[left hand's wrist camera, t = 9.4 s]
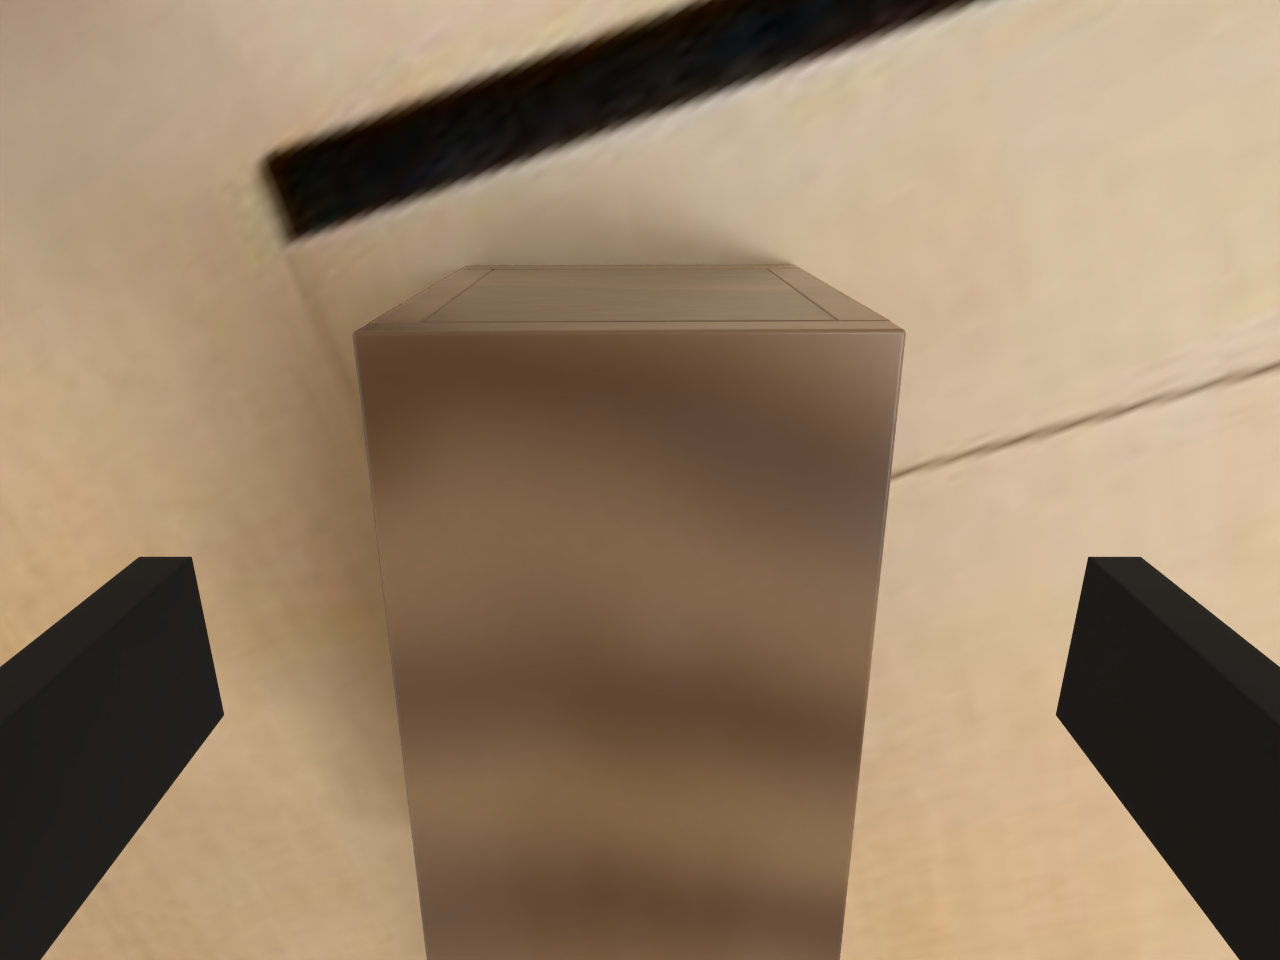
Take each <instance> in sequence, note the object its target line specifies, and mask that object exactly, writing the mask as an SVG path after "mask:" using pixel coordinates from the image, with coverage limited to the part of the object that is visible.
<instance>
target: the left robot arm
mask: <svg viewBox="0 0 1280 960" xmlns="http://www.w3.org/2000/svg"><path fill="white" fill-rule="evenodd" d="M223 716H224V712H223V707H222V702H221V697H220V692H219V688H218V683H217V678H216V673H215V668H214V663H213V658H212V653H211V649H210V644H209V639H208V634H207V629H206V624H205V619H204V615H203V610H202V605H201V600H200V595H199V590H198V585H197V580H196V576H195V571H194V566H193V561H192V557H139V558H137V559H136V560H135V561H134V562H132V563H131V564H130V565H129V566H127V567H126V568H125V569H123V570H122V571H121V572H120V573H118V574H117V575H116V576H115V577H113V578H112V579H111V580H110V581H108V582H107V583H106V584H105V585H103V586H102V587H101V588H99V589H98V590H97V591H96V592H94V593H93V594H92V595H91V596H89V597H88V598H87V599H86V600H84V601H83V602H82V603H81V604H79V605H78V606H77V607H75V608H74V609H73V610H72V611H70V612H69V613H68V614H67V615H65V616H64V617H63V618H62V619H60V620H59V621H58V622H57V623H55V624H54V625H53V626H51V627H50V628H49V629H48V630H46V631H45V632H44V633H43V634H41V635H40V636H39V637H38V638H36V639H35V640H34V641H33V642H31V643H30V644H29V645H28V646H26V647H25V648H24V649H22V650H21V651H20V652H19V653H17V654H16V655H15V656H14V657H12V658H11V659H10V660H9V661H7V662H6V663H5V664H4V665H2V666H1V667H0V960H41V958H42V957H43V956H44V954H45V953H46V952H47V950H48V949H49V948H50V946H51V945H52V944H53V942H54V941H55V940H56V938H57V937H58V936H59V934H60V933H61V932H62V930H63V929H64V928H65V926H66V925H67V924H68V922H69V921H70V920H71V918H72V917H73V916H74V914H75V913H76V912H77V910H78V909H79V908H80V906H81V905H82V904H83V902H84V901H85V900H86V898H87V897H88V896H89V894H90V893H91V892H92V890H93V889H94V888H95V886H96V885H97V884H98V882H99V881H100V880H101V878H102V877H103V876H104V874H105V873H106V872H107V870H108V869H109V868H110V866H111V865H112V864H113V862H114V861H115V860H116V858H117V857H118V856H119V854H120V853H121V852H122V850H123V849H124V848H125V846H126V845H127V844H128V842H129V841H130V840H131V838H132V837H133V836H134V834H135V833H136V832H137V830H138V829H139V828H140V826H141V825H142V824H143V822H144V821H145V820H146V818H147V817H148V816H149V814H150V813H151V812H152V810H153V809H154V808H155V806H156V805H157V804H158V802H159V801H160V800H161V798H162V797H163V796H164V794H165V793H166V792H167V790H168V789H169V788H170V786H171V785H172V784H173V782H174V781H175V780H176V778H177V777H178V776H179V774H180V773H181V772H182V770H183V769H184V768H185V766H186V765H187V764H188V762H189V761H190V760H191V758H192V757H193V756H194V754H195V753H196V752H197V750H198V749H199V748H200V746H201V745H202V744H203V742H204V741H205V740H206V738H207V737H208V736H209V734H210V733H211V732H212V730H213V729H214V728H215V726H216V725H217V724H218V722H219V721H220V720H221V718H222V717H223ZM1056 716H1057V717H1058V718H1059V720H1060V721H1061V722H1062V724H1063V725H1064V726H1065V728H1066V729H1067V730H1068V732H1069V733H1070V734H1071V736H1072V737H1073V738H1074V740H1075V741H1076V742H1077V744H1078V745H1079V746H1080V748H1081V749H1082V750H1083V752H1084V753H1085V754H1086V756H1087V757H1088V758H1089V760H1090V761H1091V762H1092V764H1093V765H1094V766H1095V768H1096V769H1097V770H1098V772H1099V773H1100V774H1101V776H1102V777H1103V778H1104V780H1105V781H1106V782H1107V784H1108V785H1109V786H1110V788H1111V789H1112V790H1113V792H1114V793H1115V794H1116V796H1117V797H1118V798H1119V800H1120V801H1121V802H1122V804H1123V805H1124V806H1125V808H1126V809H1127V810H1128V812H1129V813H1130V814H1131V816H1132V817H1133V818H1134V820H1135V821H1136V822H1137V824H1138V825H1139V826H1140V828H1141V829H1142V830H1143V832H1144V833H1145V834H1146V836H1147V837H1148V838H1149V840H1150V841H1151V842H1152V844H1153V845H1154V846H1155V848H1156V849H1157V850H1158V852H1159V853H1160V854H1161V856H1162V857H1163V858H1164V860H1165V861H1166V862H1167V864H1168V865H1169V866H1170V868H1171V869H1172V870H1173V872H1174V873H1175V874H1176V876H1177V877H1178V878H1179V880H1180V881H1181V882H1182V884H1183V885H1184V886H1185V888H1186V889H1187V890H1188V892H1189V893H1190V894H1191V896H1192V897H1193V898H1194V900H1195V901H1196V902H1197V904H1198V905H1199V906H1200V908H1201V909H1202V910H1203V912H1204V913H1205V914H1206V916H1207V917H1208V918H1209V920H1210V921H1211V922H1212V924H1213V925H1214V926H1215V928H1216V929H1217V930H1218V932H1219V933H1220V934H1221V936H1222V937H1223V938H1224V940H1225V941H1226V942H1227V944H1228V945H1229V946H1230V948H1231V949H1232V950H1233V952H1234V953H1235V954H1236V956H1237V957H1238V958H1239V960H1280V667H1279V666H1278V665H1276V664H1275V663H1274V662H1273V661H1271V660H1270V659H1269V658H1268V657H1266V656H1265V655H1264V654H1263V653H1261V652H1260V651H1259V650H1258V649H1256V648H1255V647H1254V646H1252V645H1251V644H1250V643H1249V642H1247V641H1246V640H1245V639H1244V638H1242V637H1241V636H1240V635H1239V634H1237V633H1236V632H1235V631H1234V630H1232V629H1231V628H1230V627H1229V626H1227V625H1226V624H1225V623H1223V622H1222V621H1221V620H1220V619H1218V618H1217V617H1216V616H1215V615H1213V614H1212V613H1211V612H1210V611H1208V610H1207V609H1206V608H1205V607H1203V606H1202V605H1201V604H1199V603H1198V602H1197V601H1196V600H1194V599H1193V598H1192V597H1191V596H1189V595H1188V594H1187V593H1186V592H1184V591H1183V590H1182V589H1181V588H1179V587H1178V586H1177V585H1175V584H1174V583H1173V582H1172V581H1170V580H1169V579H1168V578H1167V577H1165V576H1164V575H1163V574H1162V573H1160V572H1159V571H1158V570H1157V569H1155V568H1154V567H1153V566H1151V565H1150V564H1149V563H1148V562H1146V561H1145V560H1144V559H1143V558H1141V557H1088V561H1087V566H1086V571H1085V576H1084V580H1083V585H1082V590H1081V595H1080V600H1079V605H1078V610H1077V615H1076V619H1075V624H1074V629H1073V634H1072V639H1071V644H1070V649H1069V653H1068V658H1067V663H1066V668H1065V673H1064V678H1063V683H1062V688H1061V692H1060V697H1059V702H1058V707H1057V712H1056Z"/></svg>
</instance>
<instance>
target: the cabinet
mask: <svg viewBox="0 0 1280 960" xmlns="http://www.w3.org/2000/svg"><path fill="white" fill-rule="evenodd" d="M905 335H906V333H905V330H904V329H902V328H900V327H899V326H897V325H895V324H894V323H892V322H890V320H888V319H886V318H885V317H883V316H881V315H880V314H878V313H876V312H874V311H873V310H871V309H869V308H868V307H866V306H864V305H862V304H861V303H859V302H857V301H856V300H854V299H852V298H850V297H849V296H847V295H845V294H844V293H842V292H840V291H838V290H837V289H835V288H833V287H832V286H830V285H828V284H826V283H825V282H823V281H821V280H820V279H818V278H816V277H814V276H813V275H811V274H809V273H808V272H806V271H804V270H803V269H801V268H799V267H797V266H795V265H620V266H465V267H463V268H462V269H460V270H458V271H457V272H455V273H453V274H451V275H450V276H448V277H446V278H445V279H443V280H441V281H439V282H438V283H436V284H434V285H433V286H431V287H429V288H428V289H426V290H424V291H422V292H421V293H419V294H417V295H416V296H414V297H412V298H410V299H409V300H407V301H405V302H404V303H402V304H400V305H399V306H397V307H395V308H393V309H392V310H390V311H388V312H387V313H385V314H383V315H381V316H380V317H378V318H376V319H375V320H373V321H371V322H370V323H369V324H367V325H365V326H364V327H362V328H360V329H359V330H357V331H355V332H354V333H353V341H354V349H355V358H356V366H357V375H358V383H359V392H360V400H361V408H362V417H363V425H364V434H365V442H366V451H367V459H368V468H369V476H370V484H371V493H372V501H373V510H374V518H375V527H376V535H377V543H378V552H379V560H380V569H381V577H382V586H383V594H384V602H385V611H386V619H387V628H388V636H389V645H390V653H391V662H392V670H393V678H394V687H395V695H396V704H397V712H398V721H399V729H400V737H401V746H402V754H403V763H404V771H405V780H406V788H407V796H408V805H409V813H410V822H411V830H412V839H413V847H414V855H415V864H416V872H417V881H418V889H419V898H420V906H421V915H422V923H423V931H424V940H425V948H426V957H427V960H840V953H841V943H842V934H843V924H844V915H845V905H846V896H847V886H848V877H849V867H850V858H851V848H852V839H853V829H854V820H855V810H856V801H857V791H858V782H859V772H860V763H861V753H862V744H863V734H864V725H865V715H866V706H867V696H868V687H869V677H870V668H871V658H872V649H873V639H874V630H875V620H876V611H877V601H878V592H879V582H880V573H881V563H882V554H883V544H884V535H885V525H886V516H887V506H888V497H889V487H890V478H891V468H892V459H893V449H894V440H895V430H896V421H897V411H898V402H899V392H900V383H901V373H902V364H903V354H904V345H905Z"/></svg>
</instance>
